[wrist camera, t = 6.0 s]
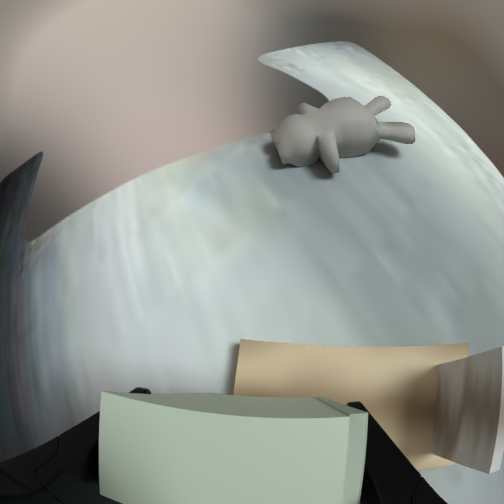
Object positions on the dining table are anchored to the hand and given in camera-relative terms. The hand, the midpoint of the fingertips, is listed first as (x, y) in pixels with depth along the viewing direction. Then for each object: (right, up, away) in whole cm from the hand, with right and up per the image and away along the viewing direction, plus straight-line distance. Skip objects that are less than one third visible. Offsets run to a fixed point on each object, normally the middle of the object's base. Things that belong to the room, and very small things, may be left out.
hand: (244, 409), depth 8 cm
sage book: (+1, -4, +6) cm, 7 cm away
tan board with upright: (+8, -7, +10) cm, 15 cm away
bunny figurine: (+10, +17, +22) cm, 30 cm away
